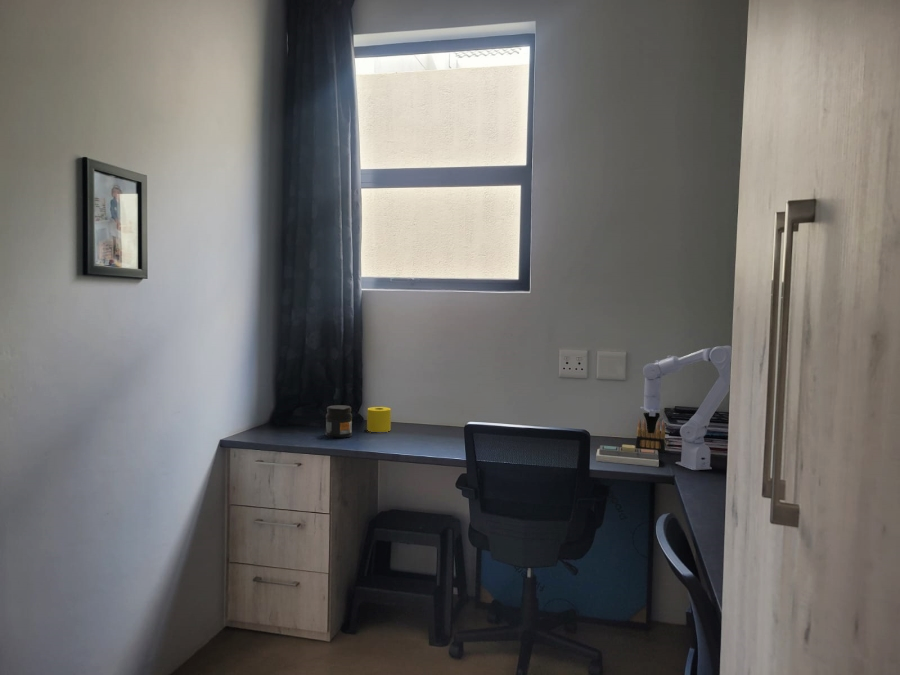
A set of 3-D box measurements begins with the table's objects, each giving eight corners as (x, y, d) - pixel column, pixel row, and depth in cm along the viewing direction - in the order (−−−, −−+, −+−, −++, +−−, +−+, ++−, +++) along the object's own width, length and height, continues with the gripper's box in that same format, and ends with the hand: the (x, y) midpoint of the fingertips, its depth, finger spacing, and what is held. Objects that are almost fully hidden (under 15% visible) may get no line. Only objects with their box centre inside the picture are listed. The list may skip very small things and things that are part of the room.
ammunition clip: (635, 449, 239) (636, 418, 238) (636, 448, 240) (637, 418, 240) (664, 452, 234) (665, 421, 234) (665, 451, 236) (666, 420, 235)
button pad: (657, 459, 223) (657, 449, 223) (658, 466, 212) (659, 455, 212) (597, 454, 229) (597, 444, 229) (595, 461, 218) (596, 450, 218)
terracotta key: (653, 454, 220) (653, 449, 220) (653, 457, 216) (654, 452, 216) (640, 453, 221) (640, 448, 221) (640, 456, 217) (641, 451, 217)
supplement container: (356, 436, 249) (357, 407, 248) (334, 440, 242) (334, 410, 241) (342, 432, 257) (343, 404, 256) (320, 435, 250) (321, 406, 249)
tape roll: (392, 432, 258) (392, 410, 258) (368, 433, 256) (368, 411, 256) (388, 428, 268) (389, 406, 268) (366, 428, 266) (366, 407, 265)
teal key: (616, 451, 224) (616, 446, 224) (615, 454, 219) (616, 449, 219) (603, 450, 225) (603, 445, 225) (603, 453, 221) (603, 448, 221)
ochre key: (634, 450, 222) (634, 445, 222) (634, 453, 218) (635, 448, 217) (622, 449, 223) (622, 444, 223) (622, 452, 219) (622, 447, 219)
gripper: (640, 392, 231) (639, 428, 232) (641, 397, 217) (639, 435, 218) (660, 393, 229) (658, 429, 230) (662, 399, 215) (660, 437, 216)
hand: (650, 432), depth 224 cm, fingers closed
